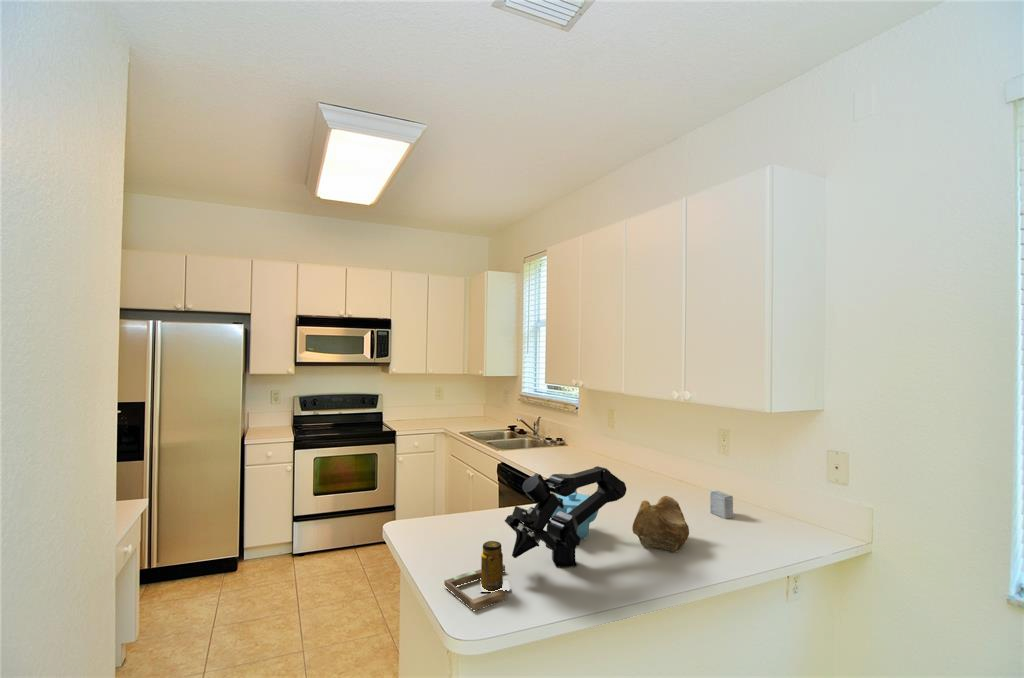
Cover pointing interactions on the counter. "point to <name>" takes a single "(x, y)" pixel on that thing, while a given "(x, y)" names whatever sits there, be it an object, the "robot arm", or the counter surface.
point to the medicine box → (721, 504)
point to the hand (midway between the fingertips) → (513, 557)
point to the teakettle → (573, 502)
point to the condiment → (492, 566)
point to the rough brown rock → (661, 525)
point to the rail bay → (472, 603)
